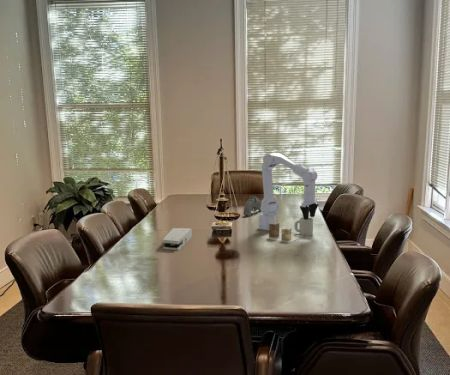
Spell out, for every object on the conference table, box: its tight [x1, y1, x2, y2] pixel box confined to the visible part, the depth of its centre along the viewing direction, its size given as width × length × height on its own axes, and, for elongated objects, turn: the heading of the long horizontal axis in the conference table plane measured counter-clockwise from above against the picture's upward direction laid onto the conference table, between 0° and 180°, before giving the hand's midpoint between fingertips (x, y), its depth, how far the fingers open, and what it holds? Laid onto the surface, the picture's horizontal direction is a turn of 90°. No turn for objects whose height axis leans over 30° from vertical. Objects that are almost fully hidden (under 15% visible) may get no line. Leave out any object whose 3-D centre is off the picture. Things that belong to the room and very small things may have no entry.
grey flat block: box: [162, 227, 193, 251], centre depth 221 cm, size 26×11×5 cm, turn 170°
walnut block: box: [268, 222, 280, 238], centre depth 228 cm, size 4×4×8 cm
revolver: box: [242, 195, 262, 217], centre depth 292 cm, size 5×22×15 cm, turn 148°
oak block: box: [281, 226, 292, 241], centre depth 222 cm, size 4×4×6 cm
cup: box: [293, 216, 314, 237], centre depth 234 cm, size 7×10×9 cm
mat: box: [259, 231, 304, 243], centre depth 229 cm, size 18×16×1 cm
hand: (309, 218), depth 228 cm, fingers open, 7 cm apart
